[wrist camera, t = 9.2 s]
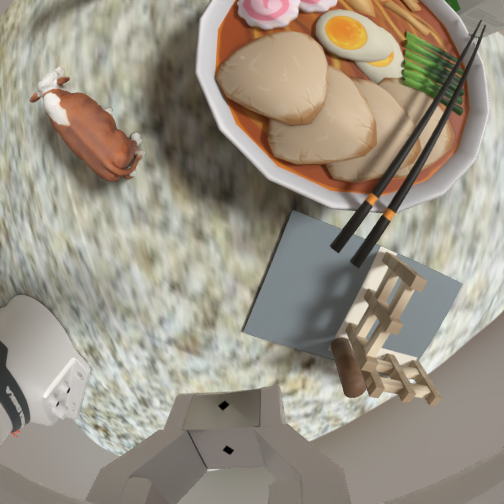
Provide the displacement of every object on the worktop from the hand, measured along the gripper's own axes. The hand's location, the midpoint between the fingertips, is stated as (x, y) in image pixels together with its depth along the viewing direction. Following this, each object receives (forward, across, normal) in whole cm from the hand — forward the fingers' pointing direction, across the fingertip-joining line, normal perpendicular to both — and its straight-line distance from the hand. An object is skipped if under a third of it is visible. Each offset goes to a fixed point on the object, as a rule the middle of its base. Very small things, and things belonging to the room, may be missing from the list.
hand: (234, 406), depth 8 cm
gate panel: (+19, -10, +6) cm, 22 cm away
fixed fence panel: (+20, -13, +15) cm, 28 cm away
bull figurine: (+20, +11, -15) cm, 27 cm away
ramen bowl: (+19, -11, -14) cm, 26 cm away
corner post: (+20, -7, +11) cm, 24 cm away
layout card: (+20, -10, +8) cm, 23 cm away
